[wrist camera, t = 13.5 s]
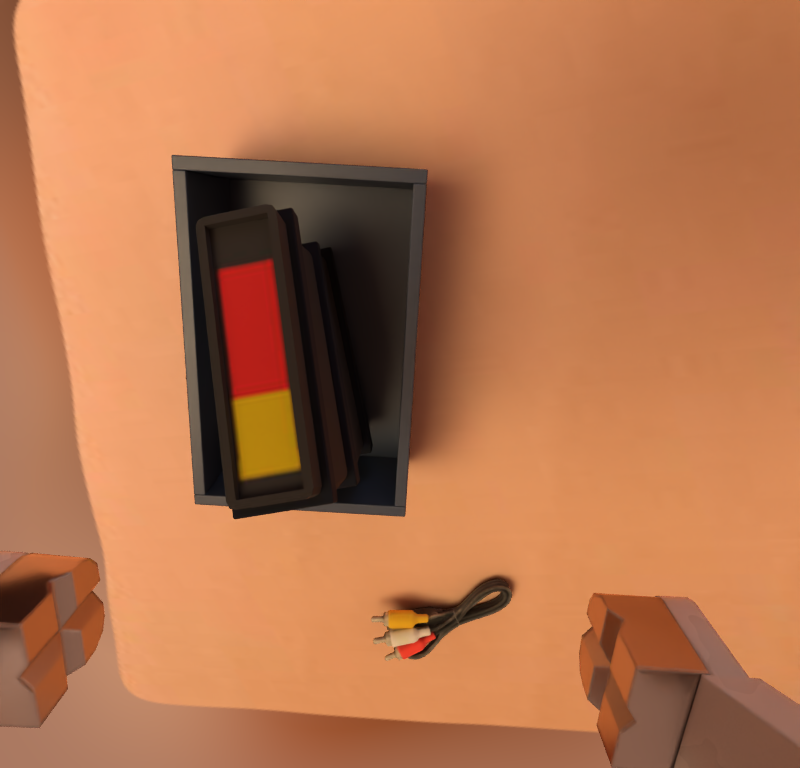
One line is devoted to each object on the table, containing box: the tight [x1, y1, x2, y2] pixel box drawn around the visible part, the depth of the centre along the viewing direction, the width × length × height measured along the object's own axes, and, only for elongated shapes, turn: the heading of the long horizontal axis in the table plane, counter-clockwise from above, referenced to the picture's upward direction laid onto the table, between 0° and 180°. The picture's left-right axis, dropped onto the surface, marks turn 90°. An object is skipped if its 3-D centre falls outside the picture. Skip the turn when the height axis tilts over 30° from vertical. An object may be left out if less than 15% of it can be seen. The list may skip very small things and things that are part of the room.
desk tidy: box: [172, 155, 428, 517], centre depth 29 cm, size 17×11×6 cm, turn 177°
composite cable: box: [371, 579, 512, 661], centre depth 37 cm, size 10×5×2 cm, turn 106°
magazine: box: [196, 204, 373, 519], centre depth 27 cm, size 4×13×15 cm, turn 11°
